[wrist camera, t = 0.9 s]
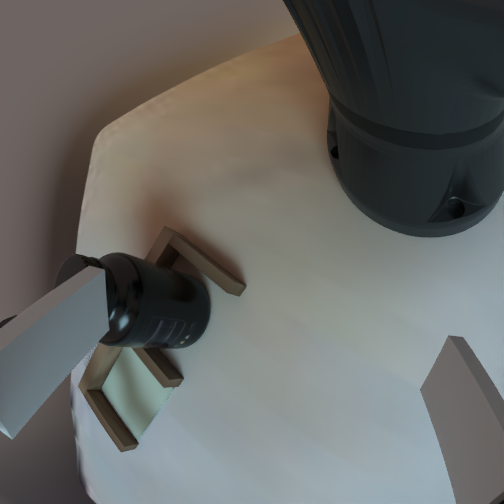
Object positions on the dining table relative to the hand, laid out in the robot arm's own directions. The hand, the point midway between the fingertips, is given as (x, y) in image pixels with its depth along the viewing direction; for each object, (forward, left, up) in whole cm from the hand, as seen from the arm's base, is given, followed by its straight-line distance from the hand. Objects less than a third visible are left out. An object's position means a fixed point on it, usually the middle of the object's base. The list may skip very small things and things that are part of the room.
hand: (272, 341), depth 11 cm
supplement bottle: (+6, -13, -12) cm, 19 cm away
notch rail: (+11, -13, -12) cm, 21 cm away
